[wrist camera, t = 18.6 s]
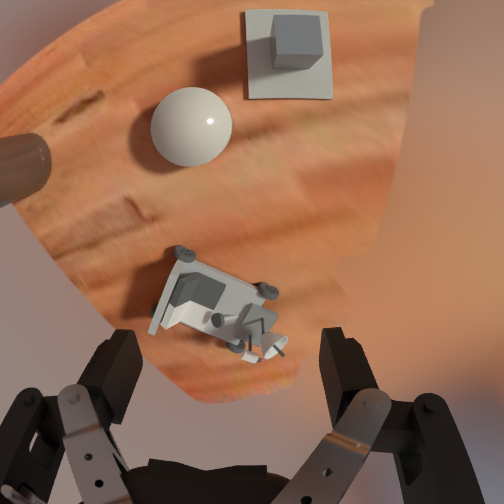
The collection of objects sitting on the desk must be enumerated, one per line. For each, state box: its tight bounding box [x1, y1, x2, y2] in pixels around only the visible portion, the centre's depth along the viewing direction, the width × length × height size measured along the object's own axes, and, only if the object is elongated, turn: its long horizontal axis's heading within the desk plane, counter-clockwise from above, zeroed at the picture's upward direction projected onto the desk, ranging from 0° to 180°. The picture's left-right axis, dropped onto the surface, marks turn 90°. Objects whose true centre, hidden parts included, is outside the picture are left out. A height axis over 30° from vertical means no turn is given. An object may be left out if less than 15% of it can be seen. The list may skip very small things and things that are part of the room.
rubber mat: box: [245, 9, 333, 100], centre depth 31 cm, size 10×12×1 cm
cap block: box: [270, 15, 323, 69], centre depth 27 cm, size 4×4×8 cm
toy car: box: [148, 245, 288, 364], centre depth 40 cm, size 18×10×12 cm
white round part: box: [151, 87, 233, 167], centre depth 33 cm, size 9×9×4 cm
